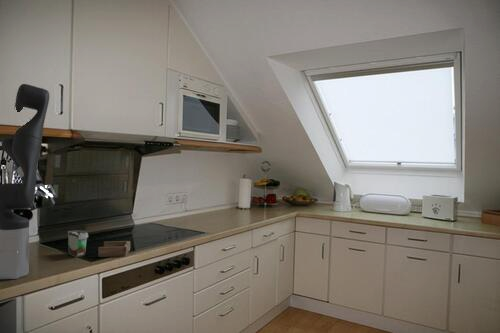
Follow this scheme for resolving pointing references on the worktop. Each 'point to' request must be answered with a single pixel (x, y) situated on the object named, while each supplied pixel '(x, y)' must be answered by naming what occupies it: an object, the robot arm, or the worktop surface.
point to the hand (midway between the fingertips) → (44, 207)
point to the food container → (77, 243)
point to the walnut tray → (114, 249)
